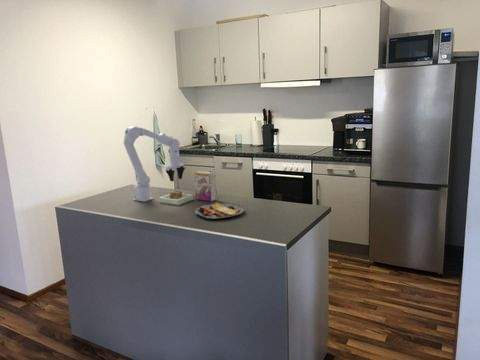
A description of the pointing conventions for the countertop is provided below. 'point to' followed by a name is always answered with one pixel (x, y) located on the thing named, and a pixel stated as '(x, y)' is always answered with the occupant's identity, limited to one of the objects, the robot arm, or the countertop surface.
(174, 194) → the walnut block
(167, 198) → the pale green tray
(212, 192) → the candy bar box
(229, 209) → the food plate
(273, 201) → the countertop surface
